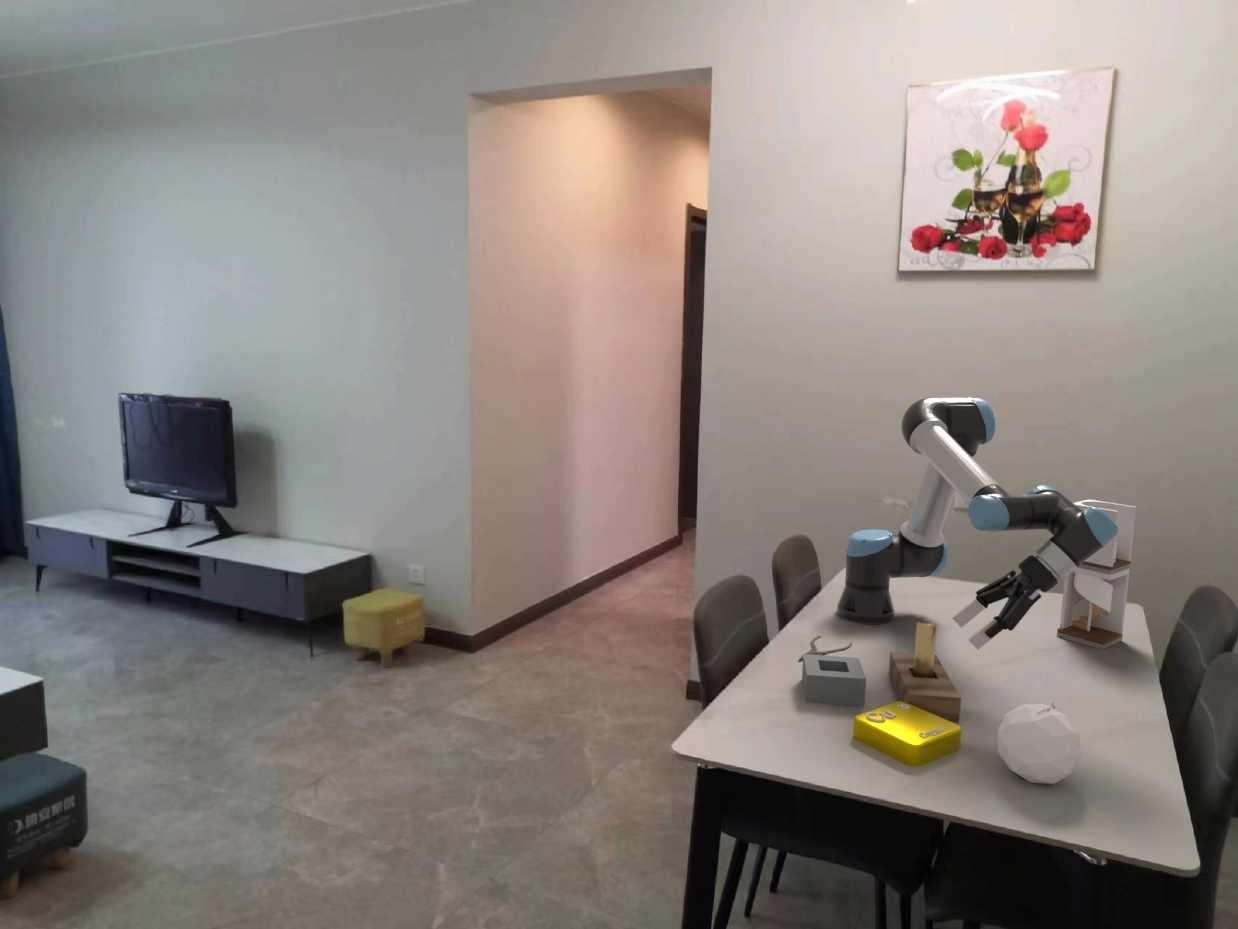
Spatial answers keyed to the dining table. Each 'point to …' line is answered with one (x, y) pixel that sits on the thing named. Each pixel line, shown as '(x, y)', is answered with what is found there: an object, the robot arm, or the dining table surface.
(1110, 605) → the spiral staircase model
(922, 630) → the golden rounded rod
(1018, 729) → the geodesic sphere
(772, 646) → the dining table surface
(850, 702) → the seat block
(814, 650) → the pliers
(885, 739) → the element tile
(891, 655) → the beam
